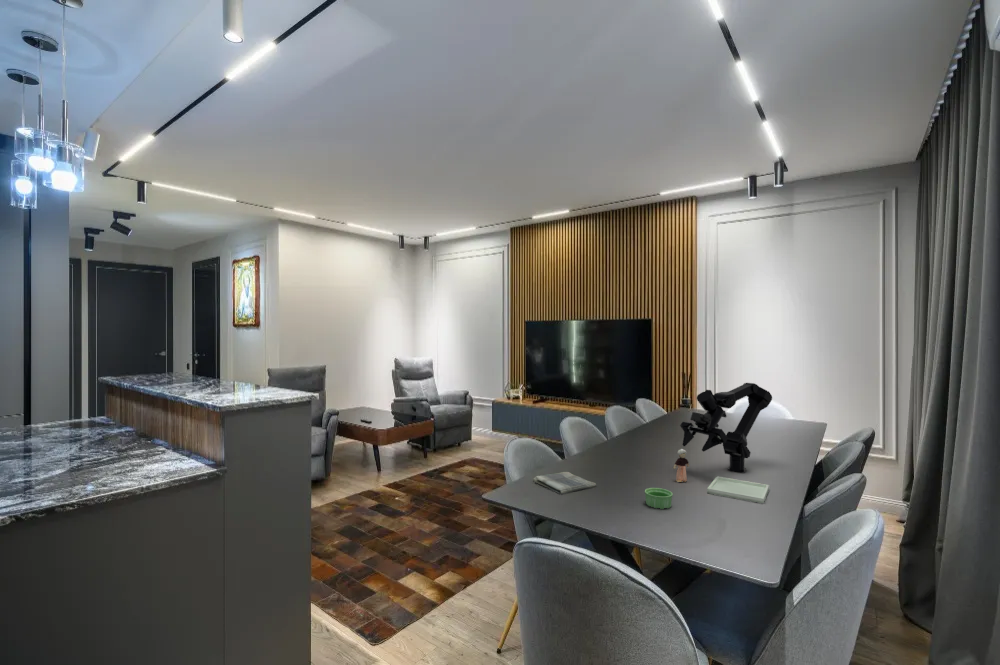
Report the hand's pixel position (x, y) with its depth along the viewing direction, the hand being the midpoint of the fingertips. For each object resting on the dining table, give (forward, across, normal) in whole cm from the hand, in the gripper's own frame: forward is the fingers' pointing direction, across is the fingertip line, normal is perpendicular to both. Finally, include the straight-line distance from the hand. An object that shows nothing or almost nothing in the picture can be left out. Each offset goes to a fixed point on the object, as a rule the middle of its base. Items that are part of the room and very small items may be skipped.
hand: (692, 448), depth 190 cm
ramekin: (+33, +14, -15) cm, 39 cm away
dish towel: (+44, -19, -25) cm, 54 cm away
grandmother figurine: (+13, 0, +5) cm, 14 cm away
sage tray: (+7, +18, +11) cm, 22 cm away
